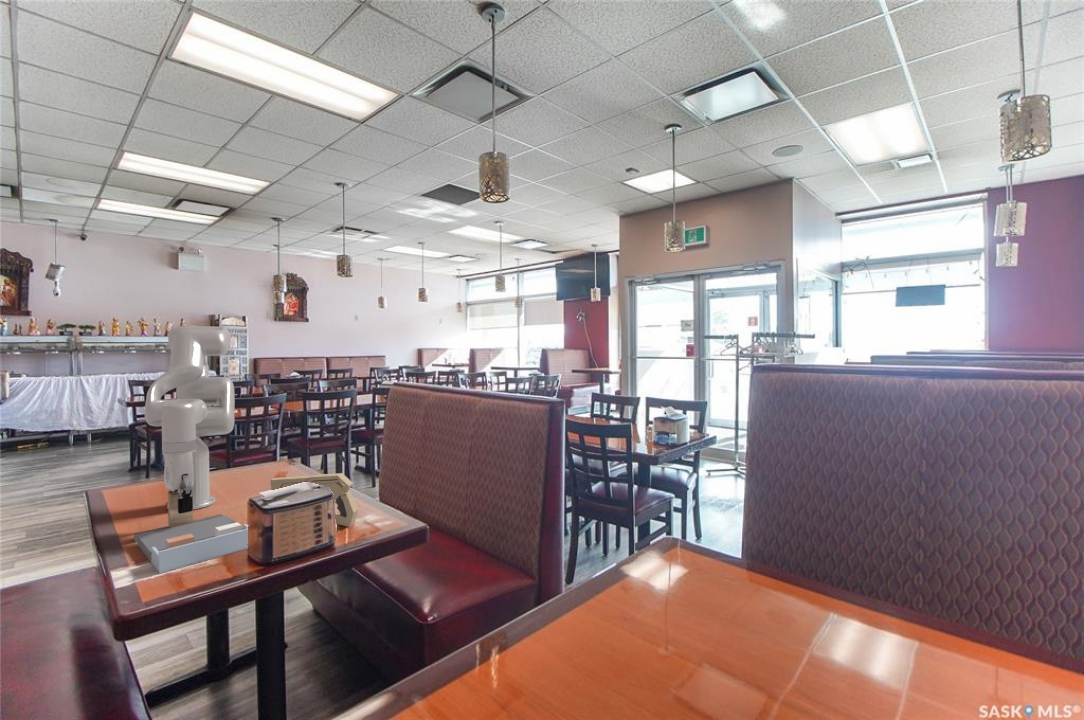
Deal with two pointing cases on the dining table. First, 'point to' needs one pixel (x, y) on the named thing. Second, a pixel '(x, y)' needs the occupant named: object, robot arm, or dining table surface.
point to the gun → (338, 487)
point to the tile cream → (227, 529)
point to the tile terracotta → (179, 541)
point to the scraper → (176, 515)
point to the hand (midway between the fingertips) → (180, 508)
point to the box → (199, 551)
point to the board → (197, 529)
